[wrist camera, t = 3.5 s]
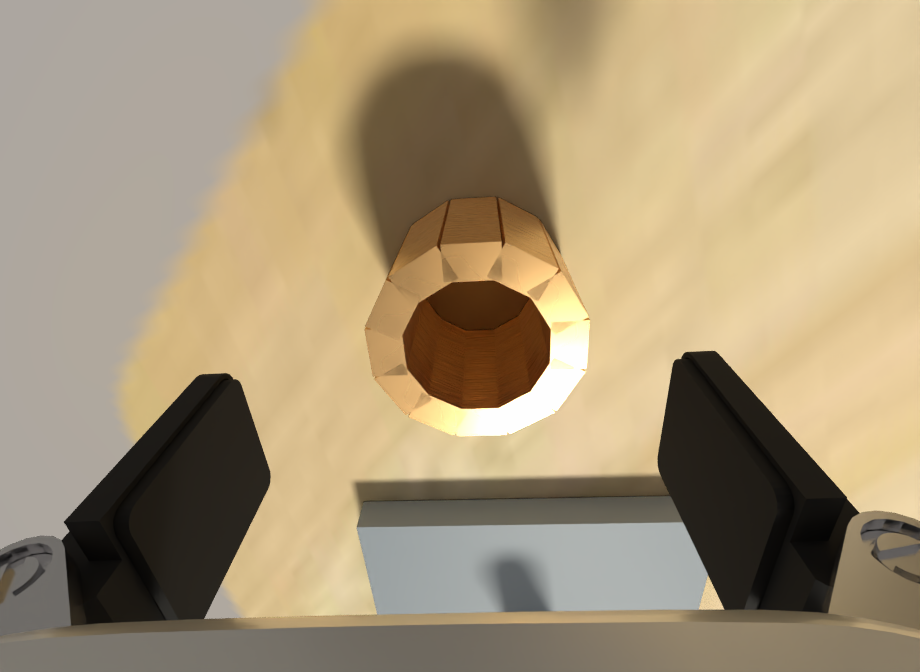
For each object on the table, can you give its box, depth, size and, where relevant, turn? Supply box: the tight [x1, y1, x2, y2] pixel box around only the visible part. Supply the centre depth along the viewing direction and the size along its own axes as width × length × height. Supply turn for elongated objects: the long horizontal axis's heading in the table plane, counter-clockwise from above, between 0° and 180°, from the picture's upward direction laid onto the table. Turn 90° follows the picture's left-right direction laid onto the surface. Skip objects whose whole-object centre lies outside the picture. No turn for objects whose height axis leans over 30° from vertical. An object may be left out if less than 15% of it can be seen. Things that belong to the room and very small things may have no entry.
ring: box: [365, 197, 590, 436], centre depth 15 cm, size 6×6×5 cm
